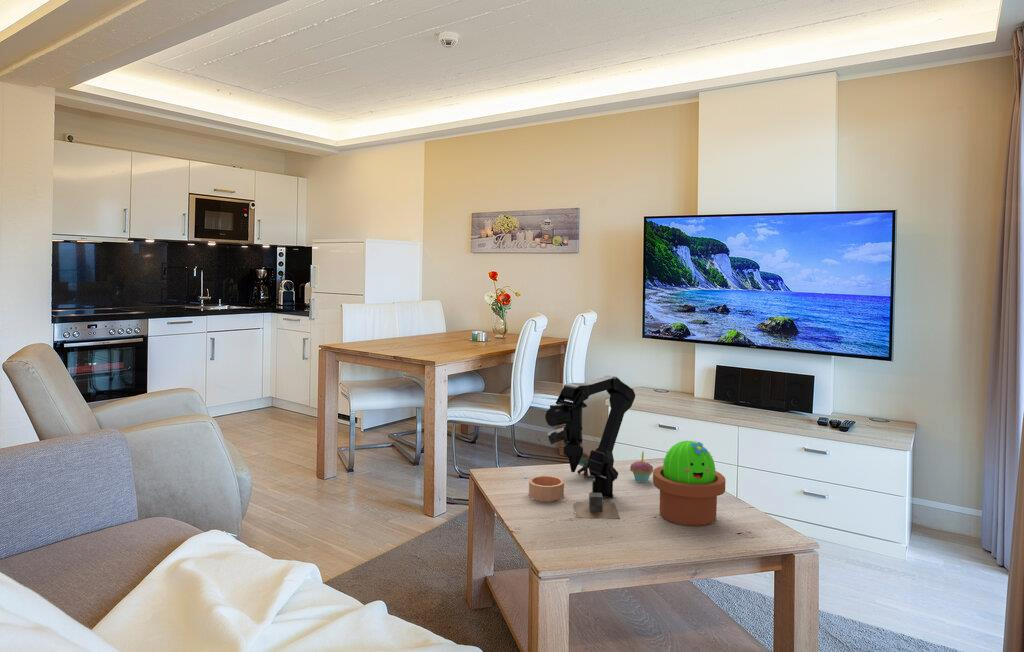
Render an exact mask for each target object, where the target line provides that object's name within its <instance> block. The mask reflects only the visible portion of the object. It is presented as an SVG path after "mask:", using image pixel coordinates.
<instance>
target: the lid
mask: <svg viewBox="0 0 1024 652" xmlns="http://www.w3.org/2000/svg"><path fill="white" fill-rule="evenodd" d="M588 495H589V496H588V500H589V501H573V502H574V504H573V503H572V504H573V510H574V511H575V512H576V513H575V512H574V511H573V512H574V516H575V515H576V516H575V517H579V518H578V519H599V518H607V520H609V519H610V520H620V519H621V517H620V514H619V512H618V510H617V506H616V503H615V502H604V501H603V500H604V499H603V498H604V497H603V496H602V493H593V492H589V493H588ZM575 502H576V503H575Z"/></svg>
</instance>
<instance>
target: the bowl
mask: <svg viewBox="0 0 1024 652" xmlns="http://www.w3.org/2000/svg"><path fill="white" fill-rule="evenodd" d="M564 489H565V482H564V479H562V478H560V477H559V476H552V475H537V476H532V477H531V478H529V480H528V496H530V498H531V497H532V498H533V500H535V499H537V500H536V501H539V500H541V501H540V502H554V500H556V501H560V500H561V499H563V498H564V496H565V495H564V492H565V490H564ZM532 498H531V499H532ZM559 499H560V500H559Z"/></svg>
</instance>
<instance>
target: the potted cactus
mask: <svg viewBox="0 0 1024 652" xmlns="http://www.w3.org/2000/svg"><path fill="white" fill-rule="evenodd" d="M666 451H667V452H666V454H665V457H664V458H663V465H662V466H661V465H660V466H658V467H655V468H653V472H652V484H653V486H654V487H655V488H656V489H658V490H659V505H658V506H659V514H660V516H661V517H662V518H663V519H665V520H666V521H668V522H671V523H673V524H677V525H682V526H689V527H690V526H691V527H701V526H709V525H711V524H713V523H714V522H716V520H717V509H718V507H717V504H718V497H719V496H722V495H723V494H724V493H725V492H726V482H727V481H726V477H725V476H724V475H723V474H722V473H720V472H718V471H717V469H718V468H716V466H715V462H714V458H713V456H712V455H711V452H709V451H708V448H706V447H704V443H702V442H699V441H697V440H684V441H683V440H681V441H678V442H676V444H673V445H672V446H670V448H669V449H667V450H666Z"/></svg>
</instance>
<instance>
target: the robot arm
mask: <svg viewBox="0 0 1024 652" xmlns="http://www.w3.org/2000/svg"><path fill="white" fill-rule="evenodd" d="M604 391H606V392H607V394H608V395H609V400H608V401H609V405H610V411H609V414H608V416H607V420H606V422H605V425H604V429H603V432H602V435H601V438H600V442H599V445H598V447H597V448H596V449H595V450H594V449H592V450H590V453H589V455H588V456H589V459H588V460H587V461H588V472H589V475H590V476H591V477H593V479H592V487H591V488H592V490H591V491H592V492H591V493H602V496H603V498H612V499H613V498H614V493H613V491H614V490H613V489H614V488H613V487H614V482H615V481H616V480H617V479H618V476H619V472H618V471H617V469H616V468H615V467H614V463H615V458H614V455H613V451H614V448H615V445H616V442H617V438H618V436H619V435H618V434H619V432H620V429H621V425H622V422H623V420H624V416H625V414H626V412H627V411H629V410H630V409H631V408H632V405H633V403H634V401H635V400H636V399H635V398H636V393H635V390H634V389H633V388H631V386H630V385H628V384H625V383H624V382H623V381H621V380H620V378H618V377H617V376H612V375H604V376H603V377H600V378H596V379H593V380H590V381H589V380H588V381H586V382H583V383H582V382H569V383H566V384H564V385H563V387H562V390H561V391H560V392H559V395H558V397H557V400H556V402H555V404H551V405H549V409H547V411H546V413H545V414H544V415H545V417H544V418H545V422H546V423H547V425H548V426H549V427H558V426H562V425H563V427H560V428H557V429H554V430H551V431H549V432H547V438H548V441H549V443H550V445H553V444H556V443H559V442H562V441H563V443H564V444H563V445H564V449H563V455H564V456H566V457H567V458H568V463H569V467H570V471H571V473H575V472H576V470H577V468H578V466H579V465H578V463H579V461H580V459H581V457H582V455H583V452H584V444H583V408H587V407H588V405H587V404H586V403H585V402H586V400H588V399H589V398H590V396H592V395H595V394H599V393H601V392H604ZM584 401H585V402H584Z"/></svg>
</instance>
